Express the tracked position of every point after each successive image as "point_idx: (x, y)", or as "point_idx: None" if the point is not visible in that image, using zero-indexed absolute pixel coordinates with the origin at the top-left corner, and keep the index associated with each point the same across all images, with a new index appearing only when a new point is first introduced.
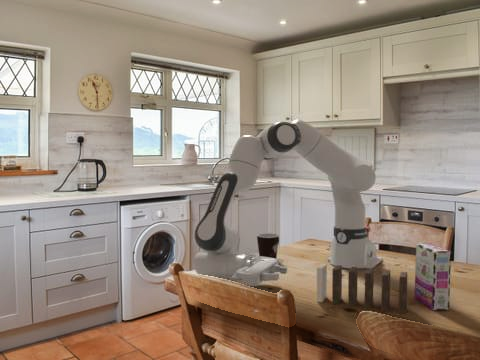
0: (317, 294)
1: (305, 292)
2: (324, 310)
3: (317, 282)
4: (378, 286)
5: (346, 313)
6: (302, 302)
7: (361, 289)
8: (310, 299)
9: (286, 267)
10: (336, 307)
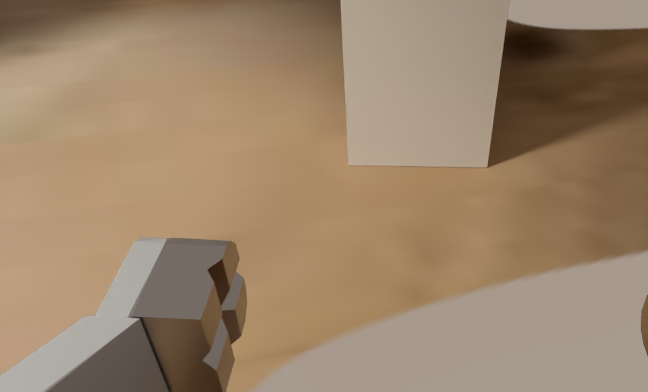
0: (492, 114)
1: (282, 268)
2: (635, 113)
3: (506, 13)
4: (93, 17)
5: (595, 47)
6: (575, 239)
7: (150, 49)
8: (461, 206)
9: (141, 239)
10: (531, 82)
